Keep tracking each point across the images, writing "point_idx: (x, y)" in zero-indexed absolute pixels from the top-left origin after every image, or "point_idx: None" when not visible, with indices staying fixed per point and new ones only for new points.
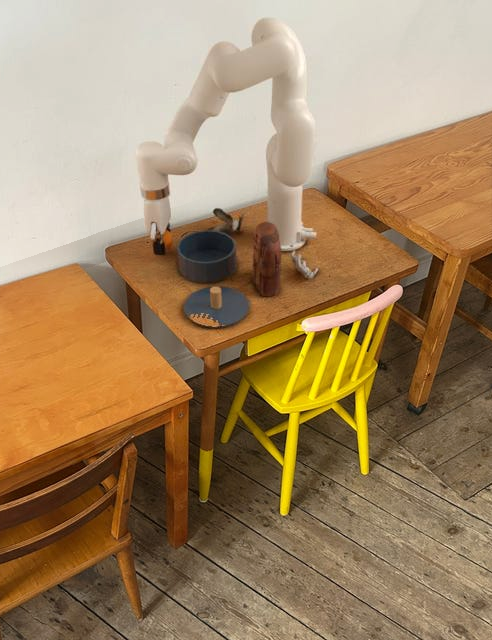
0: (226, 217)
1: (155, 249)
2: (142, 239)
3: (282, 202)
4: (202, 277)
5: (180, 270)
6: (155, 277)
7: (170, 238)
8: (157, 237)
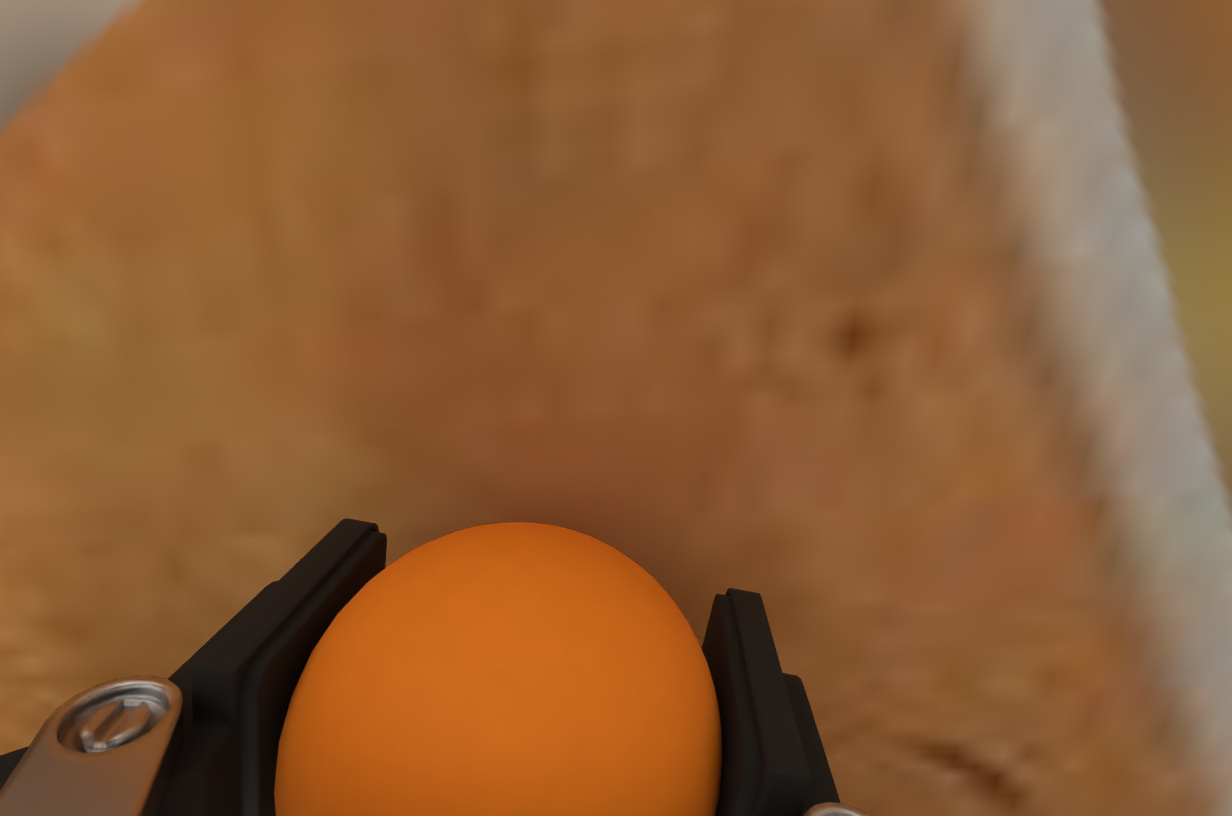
0: None
1: (231, 619)
2: (961, 242)
3: None
4: None
5: None
6: (39, 494)
7: None
8: (284, 814)
